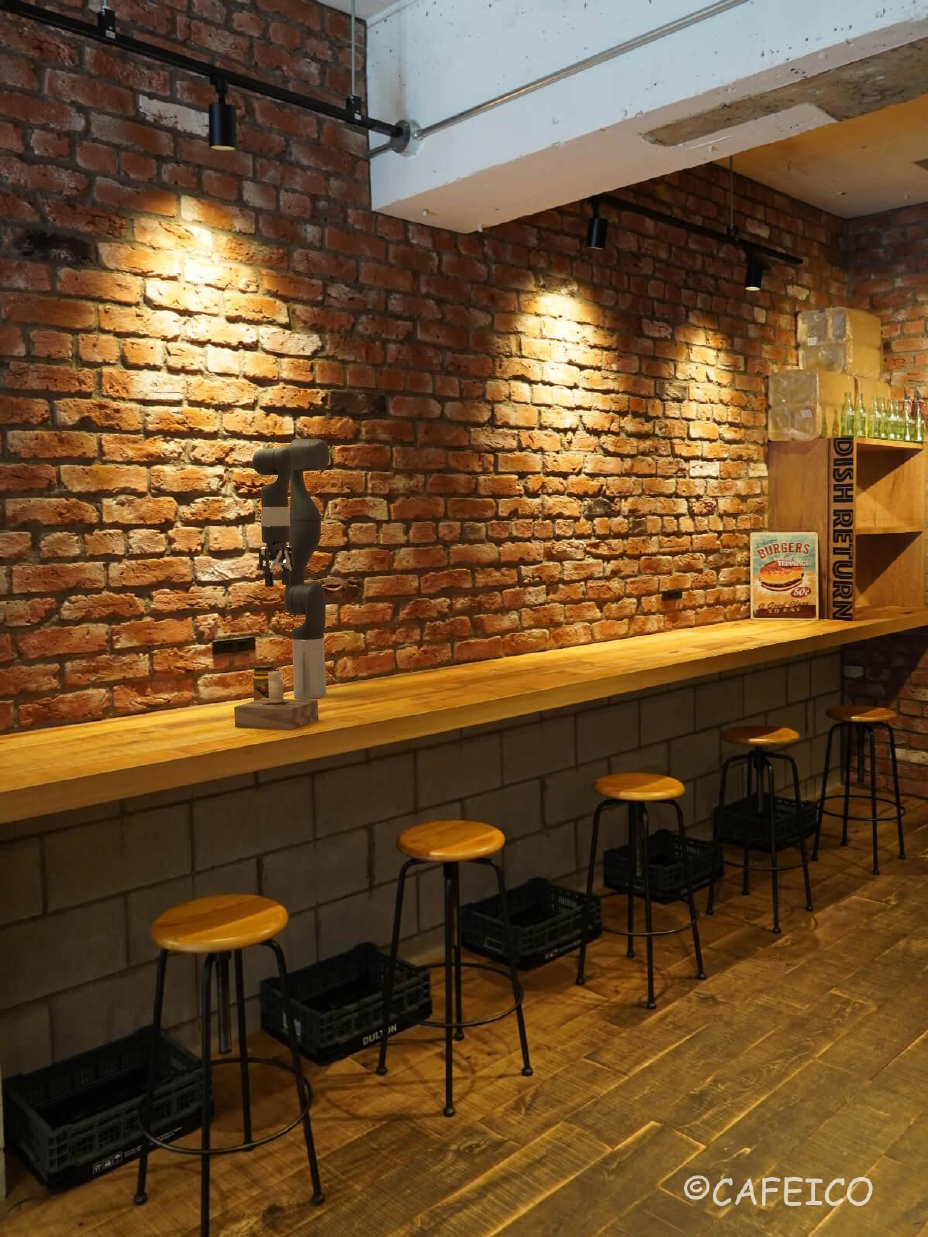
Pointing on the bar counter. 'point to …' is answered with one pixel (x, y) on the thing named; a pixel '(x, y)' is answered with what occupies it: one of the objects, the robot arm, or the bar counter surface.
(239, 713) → the wooden block with hole
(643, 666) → the bar counter surface
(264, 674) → the condiment
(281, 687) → the peg
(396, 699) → the bar counter surface
